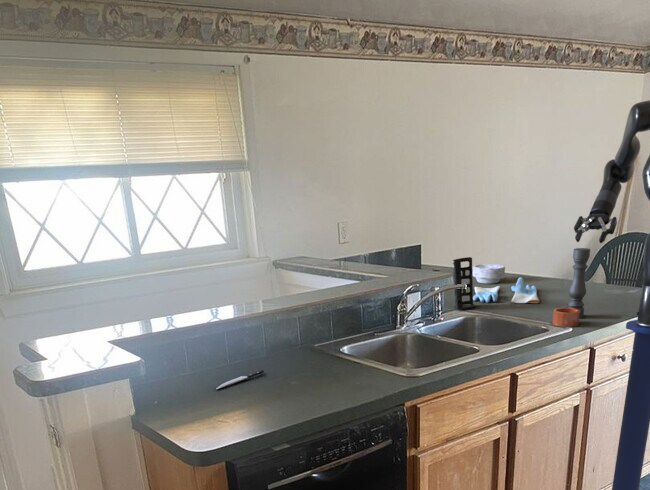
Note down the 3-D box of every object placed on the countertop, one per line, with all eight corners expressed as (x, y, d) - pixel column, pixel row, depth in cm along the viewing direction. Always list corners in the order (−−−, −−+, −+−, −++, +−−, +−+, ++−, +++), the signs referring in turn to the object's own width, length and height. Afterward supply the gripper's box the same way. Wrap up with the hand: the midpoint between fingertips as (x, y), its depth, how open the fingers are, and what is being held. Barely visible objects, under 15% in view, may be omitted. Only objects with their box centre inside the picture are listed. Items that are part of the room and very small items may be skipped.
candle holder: (569, 314, 252) (576, 247, 242) (585, 316, 249) (593, 248, 239) (563, 317, 248) (570, 249, 238) (579, 319, 244) (587, 250, 234)
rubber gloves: (471, 303, 277) (472, 288, 275) (474, 288, 306) (475, 274, 304) (539, 304, 271) (540, 288, 268) (535, 288, 300) (536, 274, 297)
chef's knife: (209, 389, 189) (215, 390, 187) (208, 385, 188) (215, 386, 186) (258, 371, 201) (265, 373, 199) (258, 368, 201) (264, 369, 199)
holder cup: (584, 324, 237) (585, 311, 235) (563, 328, 234) (565, 314, 232) (567, 319, 244) (568, 306, 242) (547, 322, 242) (548, 309, 240)
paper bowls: (508, 280, 321) (509, 264, 318) (498, 286, 309) (499, 269, 306) (478, 278, 329) (479, 262, 325) (467, 284, 317) (468, 267, 314)
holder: (466, 310, 264) (464, 260, 258) (449, 310, 269) (446, 260, 262) (478, 305, 272) (476, 256, 266) (461, 305, 277) (459, 257, 270)
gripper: (582, 199, 247) (567, 233, 243) (621, 199, 238) (606, 235, 234) (586, 212, 252) (571, 246, 249) (624, 213, 243) (610, 248, 240)
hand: (588, 241), depth 242 cm, fingers open, 8 cm apart
